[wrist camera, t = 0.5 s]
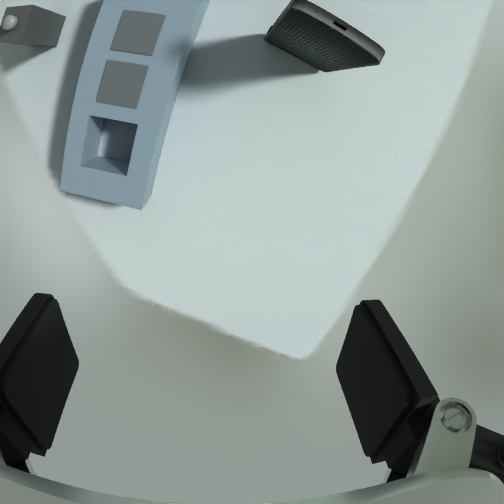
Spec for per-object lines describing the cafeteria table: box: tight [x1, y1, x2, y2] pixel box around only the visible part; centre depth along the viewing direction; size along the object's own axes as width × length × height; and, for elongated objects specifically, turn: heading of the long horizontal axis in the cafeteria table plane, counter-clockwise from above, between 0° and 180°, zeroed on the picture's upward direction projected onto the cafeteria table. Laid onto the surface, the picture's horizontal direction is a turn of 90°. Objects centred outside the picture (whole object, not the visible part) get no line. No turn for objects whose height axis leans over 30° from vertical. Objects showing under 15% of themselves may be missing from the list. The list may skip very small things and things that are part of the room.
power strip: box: [60, 0, 209, 210], centre depth 27 cm, size 28×10×5 cm, turn 162°
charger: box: [0, 5, 66, 47], centre depth 21 cm, size 4×4×9 cm
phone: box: [264, 0, 385, 72], centre depth 23 cm, size 8×1×15 cm, turn 63°
